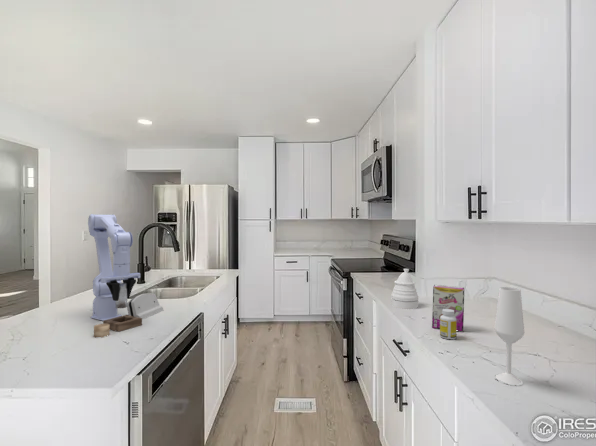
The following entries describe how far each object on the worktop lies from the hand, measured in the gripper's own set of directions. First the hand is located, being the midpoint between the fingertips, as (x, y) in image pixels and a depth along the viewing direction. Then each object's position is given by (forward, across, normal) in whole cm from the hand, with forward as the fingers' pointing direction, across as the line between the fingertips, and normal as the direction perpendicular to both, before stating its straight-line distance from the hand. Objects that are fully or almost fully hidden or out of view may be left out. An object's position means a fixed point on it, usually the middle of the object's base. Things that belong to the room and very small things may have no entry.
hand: (121, 299), depth 130 cm
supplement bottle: (+11, +56, -108) cm, 122 cm away
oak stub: (+10, -9, -4) cm, 15 cm away
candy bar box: (+11, +67, -106) cm, 126 cm away
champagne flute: (+11, +29, -126) cm, 130 cm away
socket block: (+10, +1, 0) cm, 10 cm away
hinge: (+11, +15, +8) cm, 20 cm away
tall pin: (+3, 0, 0) cm, 3 cm away
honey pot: (+11, +95, -83) cm, 126 cm away
